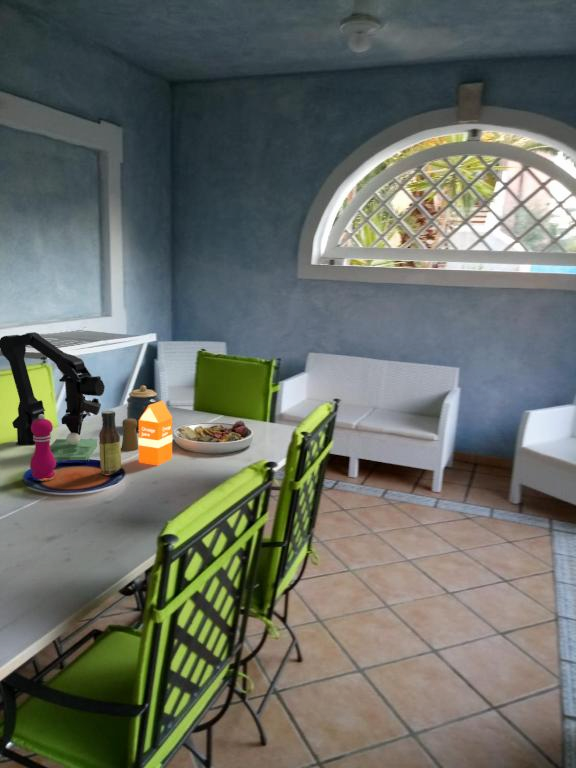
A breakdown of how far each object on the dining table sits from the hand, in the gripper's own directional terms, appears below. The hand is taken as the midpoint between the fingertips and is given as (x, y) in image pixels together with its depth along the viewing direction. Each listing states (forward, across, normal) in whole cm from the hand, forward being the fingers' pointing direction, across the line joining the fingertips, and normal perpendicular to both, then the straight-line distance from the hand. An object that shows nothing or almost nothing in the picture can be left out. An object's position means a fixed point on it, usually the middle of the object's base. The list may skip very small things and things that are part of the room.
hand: (77, 436), depth 204 cm
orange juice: (+5, -16, -28) cm, 32 cm away
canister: (+6, +29, -21) cm, 36 cm away
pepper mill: (+4, -32, +4) cm, 32 cm away
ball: (-1, -5, 0) cm, 5 cm away
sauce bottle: (+4, -28, -15) cm, 32 cm away
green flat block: (+4, -8, +1) cm, 9 cm away
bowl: (+6, +4, -48) cm, 49 cm away
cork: (+5, -1, -18) cm, 19 cm away
